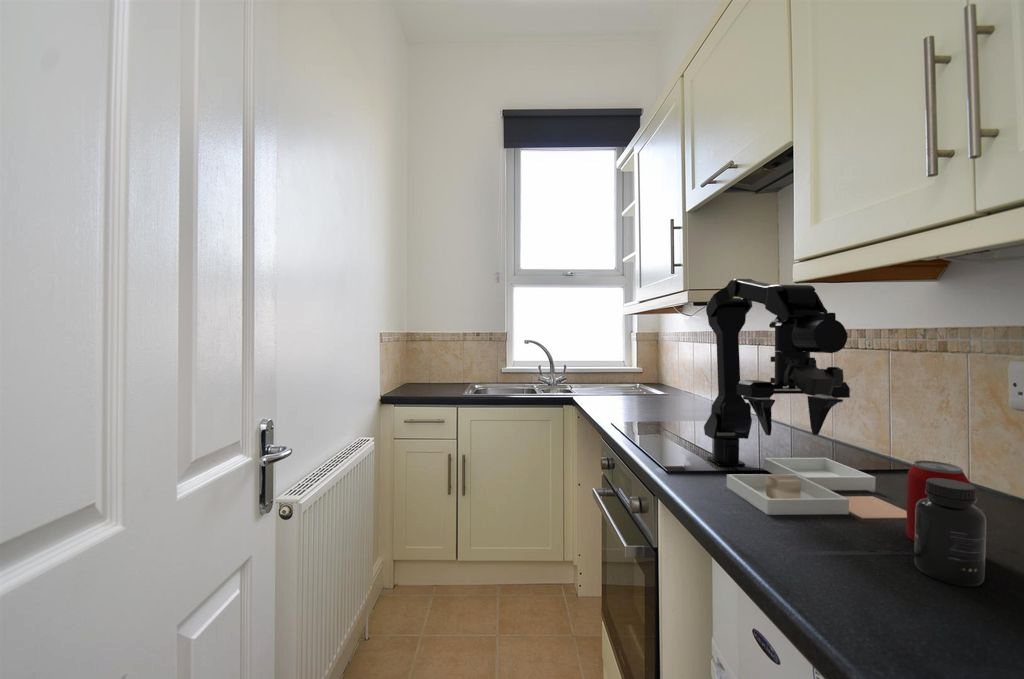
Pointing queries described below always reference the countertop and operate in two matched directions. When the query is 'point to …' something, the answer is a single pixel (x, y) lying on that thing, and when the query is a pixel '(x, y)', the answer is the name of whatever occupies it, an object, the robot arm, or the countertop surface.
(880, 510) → the tile
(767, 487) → the beech cube
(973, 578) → the supplement bottle
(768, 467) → the tray
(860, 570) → the countertop surface
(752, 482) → the tray
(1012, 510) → the countertop surface
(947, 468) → the beverage can
